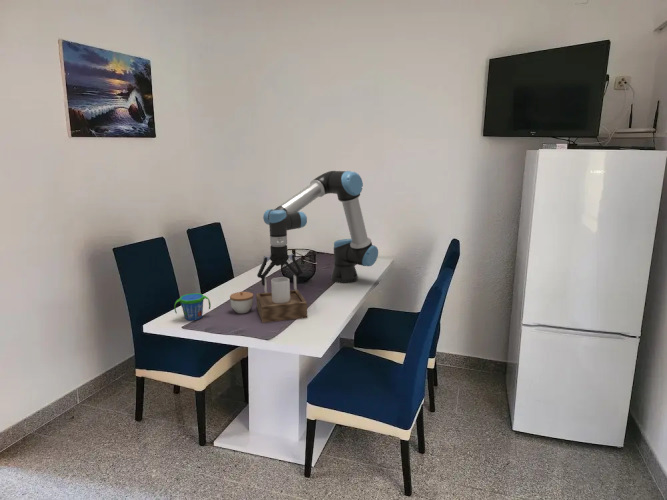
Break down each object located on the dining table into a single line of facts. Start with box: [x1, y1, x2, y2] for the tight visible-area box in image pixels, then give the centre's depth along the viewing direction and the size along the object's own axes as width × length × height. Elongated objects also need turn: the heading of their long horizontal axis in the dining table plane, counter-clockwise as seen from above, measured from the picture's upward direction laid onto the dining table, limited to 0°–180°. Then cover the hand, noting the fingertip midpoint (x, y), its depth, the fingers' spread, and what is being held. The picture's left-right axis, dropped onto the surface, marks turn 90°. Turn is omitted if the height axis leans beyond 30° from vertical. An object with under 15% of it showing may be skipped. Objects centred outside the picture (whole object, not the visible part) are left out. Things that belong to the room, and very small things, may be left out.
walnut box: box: [255, 289, 308, 323], centre depth 222 cm, size 20×20×7 cm
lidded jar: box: [229, 291, 254, 314], centre depth 225 cm, size 11×11×9 cm
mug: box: [270, 276, 291, 304], centre depth 220 cm, size 12×8×10 cm
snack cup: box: [173, 292, 212, 322], centre depth 216 cm, size 16×10×10 cm
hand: (280, 290), depth 220 cm, fingers open, 13 cm apart
